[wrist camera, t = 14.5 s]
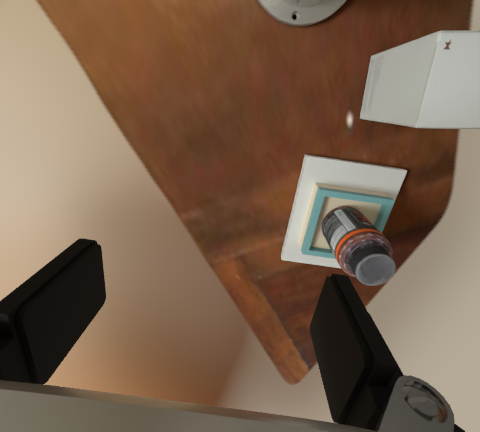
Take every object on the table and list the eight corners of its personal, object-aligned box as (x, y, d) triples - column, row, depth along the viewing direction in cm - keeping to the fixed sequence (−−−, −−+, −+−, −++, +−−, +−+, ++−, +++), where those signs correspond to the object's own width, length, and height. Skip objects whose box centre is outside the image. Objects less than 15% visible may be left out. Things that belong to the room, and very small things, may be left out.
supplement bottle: (372, 219, 36) (420, 266, 26) (341, 248, 38) (375, 303, 28) (340, 196, 35) (378, 235, 25) (311, 227, 37) (334, 276, 27)
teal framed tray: (305, 154, 36) (311, 160, 32) (402, 168, 36) (421, 176, 32) (280, 255, 43) (283, 271, 39) (362, 267, 43) (374, 284, 39)
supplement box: (357, 119, 34) (412, 129, 22) (370, 54, 31) (440, 26, 19) (414, 120, 34) (499, 130, 22) (432, 54, 31) (541, 27, 19)
